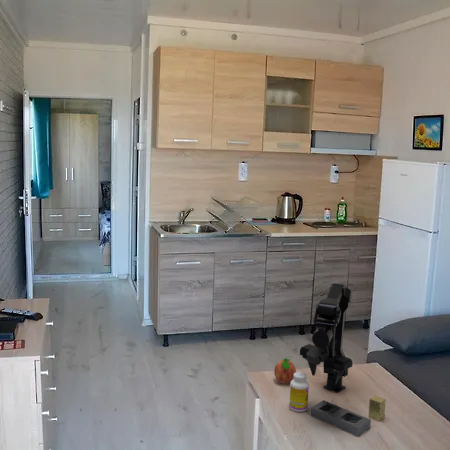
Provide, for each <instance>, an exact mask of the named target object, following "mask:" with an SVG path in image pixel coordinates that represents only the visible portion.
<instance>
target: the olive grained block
mask: <svg viewBox="0 0 450 450" xmlns="http://www.w3.org/2000/svg"><path fill="white" fill-rule="evenodd" d="M386 402H387V401H386V398H384V397H381V396H379V395H376V394H375V395H373V396H372V397H370V398H369V405H368V419H372V420H374V421H376V422H378V423H379V422H380V421H382V420H384V419H385V414H386Z"/></svg>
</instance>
